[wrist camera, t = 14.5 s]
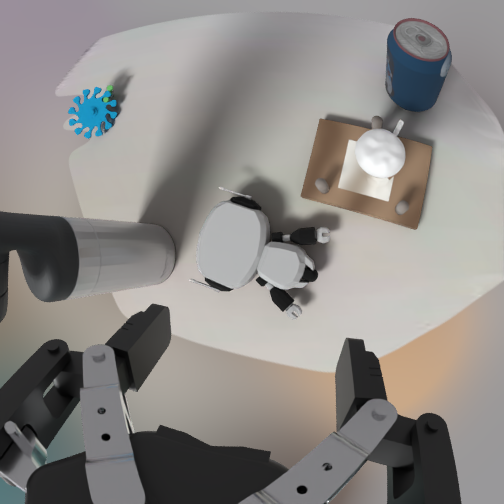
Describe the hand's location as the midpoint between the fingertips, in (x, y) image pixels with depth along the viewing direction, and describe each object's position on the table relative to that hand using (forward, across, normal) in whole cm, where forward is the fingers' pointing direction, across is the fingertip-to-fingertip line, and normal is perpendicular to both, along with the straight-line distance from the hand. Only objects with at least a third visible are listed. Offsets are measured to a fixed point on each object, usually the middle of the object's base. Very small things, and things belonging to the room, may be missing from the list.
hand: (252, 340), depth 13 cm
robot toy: (+24, +3, +6) cm, 25 cm away
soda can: (+28, -14, -18) cm, 36 cm away
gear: (+38, +37, -13) cm, 54 cm away
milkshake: (+24, -10, -7) cm, 26 cm away
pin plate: (+25, -9, -6) cm, 27 cm away
